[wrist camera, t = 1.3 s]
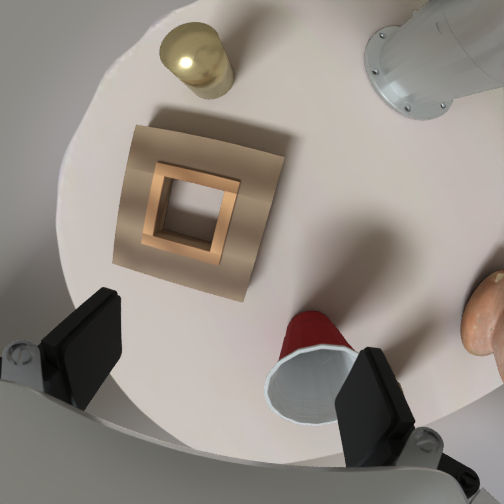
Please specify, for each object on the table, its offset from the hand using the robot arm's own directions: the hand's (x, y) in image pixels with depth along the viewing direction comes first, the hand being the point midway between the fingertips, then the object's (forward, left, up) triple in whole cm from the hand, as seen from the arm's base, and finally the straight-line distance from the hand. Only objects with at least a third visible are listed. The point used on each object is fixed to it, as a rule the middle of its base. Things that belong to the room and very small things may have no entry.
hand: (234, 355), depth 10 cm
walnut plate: (0, -7, -23) cm, 24 cm away
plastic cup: (+11, +10, -23) cm, 28 cm away
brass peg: (-15, -9, -23) cm, 29 cm away
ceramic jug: (+2, +39, -24) cm, 45 cm away
